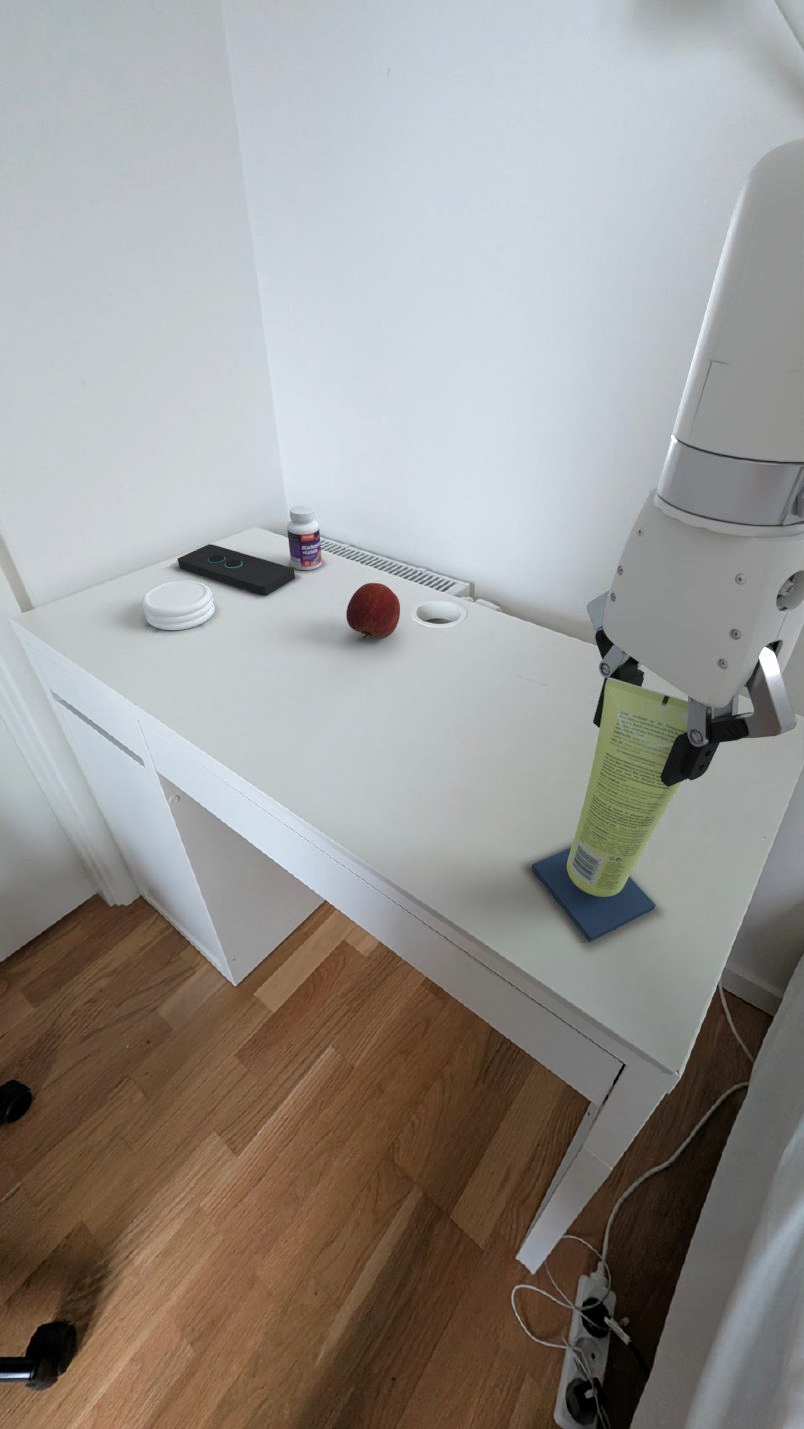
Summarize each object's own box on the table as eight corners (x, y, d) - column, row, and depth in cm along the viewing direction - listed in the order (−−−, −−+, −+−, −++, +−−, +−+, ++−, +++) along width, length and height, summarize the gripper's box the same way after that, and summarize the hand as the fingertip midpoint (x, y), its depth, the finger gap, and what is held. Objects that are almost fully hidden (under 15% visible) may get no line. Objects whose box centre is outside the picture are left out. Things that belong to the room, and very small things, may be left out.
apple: (411, 638, 83) (412, 587, 78) (366, 655, 79) (364, 603, 74) (381, 617, 88) (380, 568, 83) (337, 633, 84) (334, 582, 79)
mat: (654, 908, 49) (656, 905, 49) (589, 942, 47) (591, 938, 47) (591, 841, 55) (593, 837, 55) (531, 868, 52) (532, 864, 52)
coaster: (225, 602, 91) (221, 581, 89) (199, 634, 83) (193, 613, 81) (165, 597, 92) (160, 576, 90) (134, 628, 85) (127, 607, 82)
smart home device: (210, 542, 105) (296, 567, 97) (212, 551, 106) (297, 577, 98) (174, 558, 99) (262, 586, 91) (176, 568, 100) (264, 596, 92)
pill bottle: (306, 574, 99) (300, 517, 93) (285, 565, 102) (278, 510, 96) (328, 563, 102) (324, 508, 96) (307, 555, 105) (302, 501, 99)
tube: (612, 844, 52) (681, 665, 40) (643, 891, 48) (730, 710, 36) (555, 856, 51) (606, 676, 39) (582, 905, 47) (649, 724, 35)
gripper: (975, 527, 24) (791, 814, 36) (665, 434, 36) (601, 671, 48) (864, 559, 22) (704, 858, 33) (570, 448, 34) (526, 695, 45)
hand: (644, 745), depth 40 cm, fingers closed on tube, 5 cm apart
